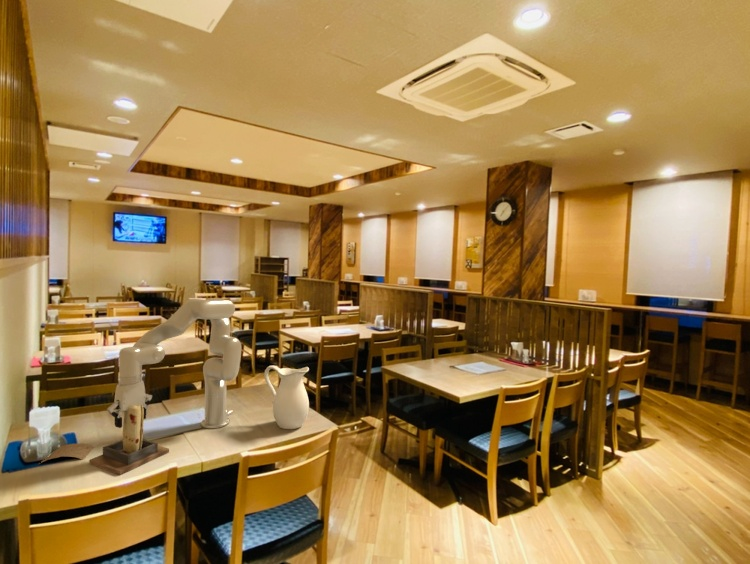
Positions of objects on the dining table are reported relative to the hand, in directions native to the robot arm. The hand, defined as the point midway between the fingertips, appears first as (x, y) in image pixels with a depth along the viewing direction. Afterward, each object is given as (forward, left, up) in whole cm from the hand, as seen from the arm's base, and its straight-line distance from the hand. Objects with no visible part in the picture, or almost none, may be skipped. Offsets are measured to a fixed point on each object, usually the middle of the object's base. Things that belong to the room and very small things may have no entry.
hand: (130, 422), depth 157 cm
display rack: (0, 0, -14) cm, 14 cm away
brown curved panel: (+10, -23, -15) cm, 29 cm away
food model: (0, 0, -13) cm, 13 cm away
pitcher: (-56, +32, -14) cm, 66 cm away
